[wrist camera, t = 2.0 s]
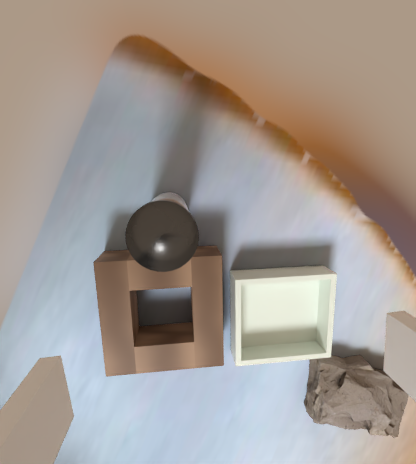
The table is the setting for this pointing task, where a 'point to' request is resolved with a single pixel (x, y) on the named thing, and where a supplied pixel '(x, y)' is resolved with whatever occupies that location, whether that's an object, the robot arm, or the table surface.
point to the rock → (354, 396)
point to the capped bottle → (162, 233)
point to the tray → (281, 314)
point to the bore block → (166, 335)
